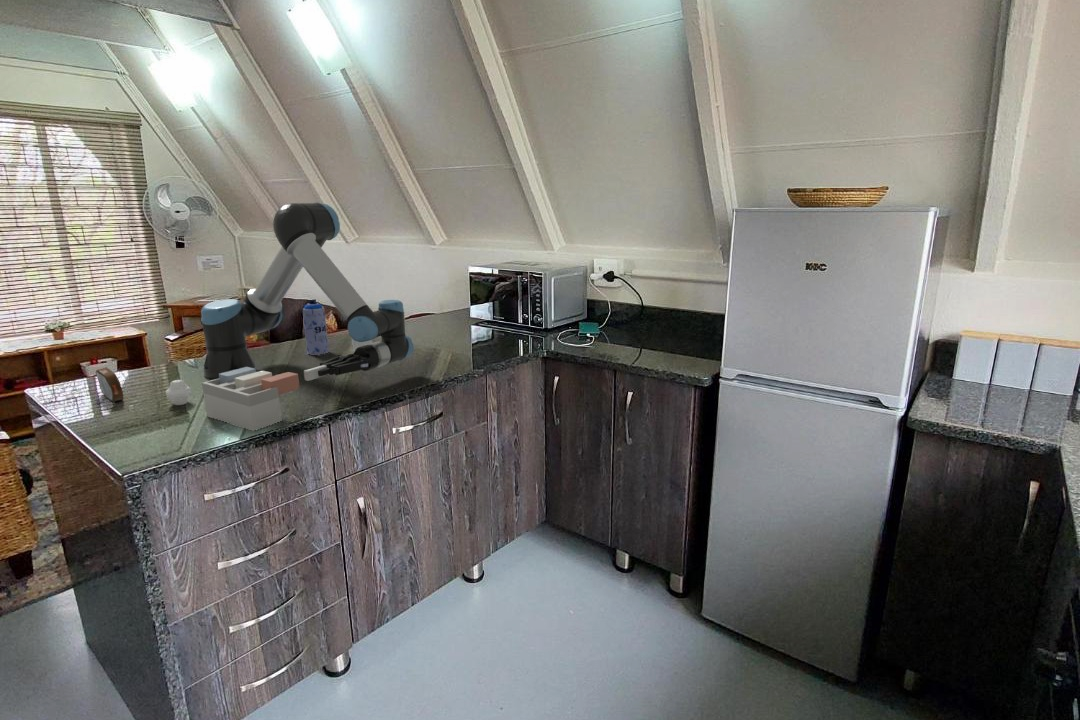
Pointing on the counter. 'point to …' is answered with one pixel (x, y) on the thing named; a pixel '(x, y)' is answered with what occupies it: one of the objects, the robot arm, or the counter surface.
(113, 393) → the tin
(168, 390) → the muffin
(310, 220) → the robot arm
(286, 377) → the terracotta key
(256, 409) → the grey slotted rack
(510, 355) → the counter surface
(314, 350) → the aerosol can
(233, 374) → the blue-grey rectangular block
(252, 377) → the ivory key
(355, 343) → the white cup
